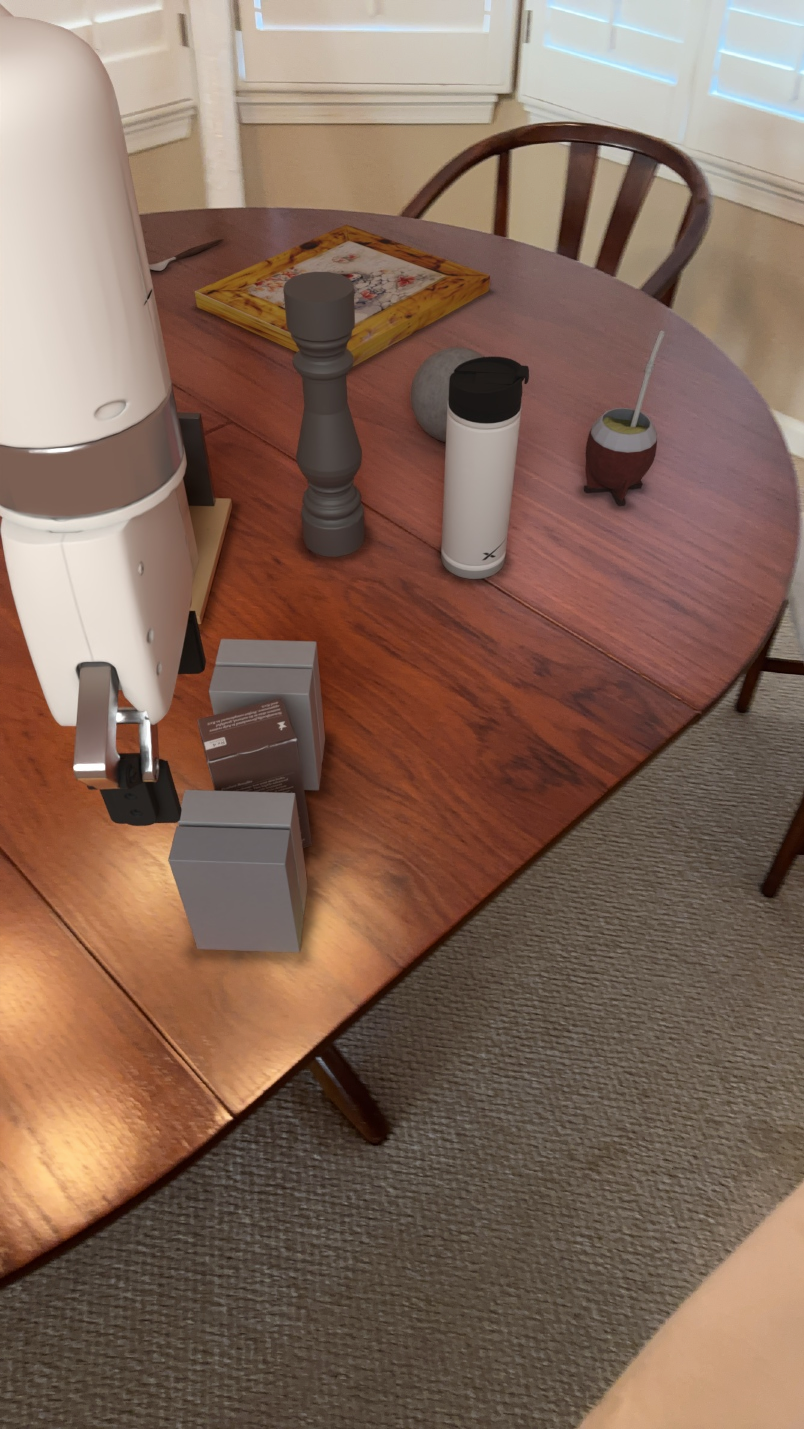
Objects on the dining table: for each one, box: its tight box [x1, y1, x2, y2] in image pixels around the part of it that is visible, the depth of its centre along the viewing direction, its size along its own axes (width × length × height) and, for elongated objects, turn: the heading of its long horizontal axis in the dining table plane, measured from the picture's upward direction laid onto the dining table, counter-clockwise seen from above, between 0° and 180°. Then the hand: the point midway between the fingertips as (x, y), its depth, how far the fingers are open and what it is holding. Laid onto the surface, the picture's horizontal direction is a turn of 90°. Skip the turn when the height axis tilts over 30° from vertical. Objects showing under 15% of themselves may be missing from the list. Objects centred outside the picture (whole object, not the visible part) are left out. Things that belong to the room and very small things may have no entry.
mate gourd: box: [583, 330, 666, 507], centre depth 95 cm, size 8×8×15 cm
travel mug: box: [440, 355, 530, 580], centre depth 85 cm, size 6×7×20 cm
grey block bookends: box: [167, 638, 326, 954], centre depth 66 cm, size 7×19×11 cm, turn 178°
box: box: [197, 698, 313, 849], centre depth 66 cm, size 6×4×12 cm
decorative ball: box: [409, 346, 485, 443], centre depth 103 cm, size 10×10×10 cm
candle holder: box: [283, 272, 366, 558], centre depth 85 cm, size 6×6×25 cm
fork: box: [149, 238, 224, 272], centre depth 138 cm, size 3×16×2 cm, turn 136°
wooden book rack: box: [175, 411, 233, 625], centre depth 87 cm, size 10×18×13 cm, turn 178°
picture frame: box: [194, 224, 491, 367], centre depth 129 cm, size 27×2×30 cm
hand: (163, 739), depth 47 cm, fingers open, 9 cm apart
